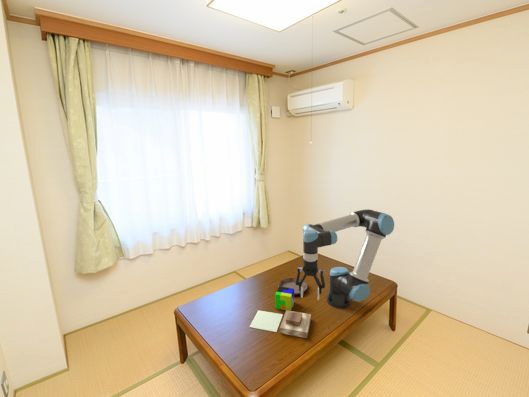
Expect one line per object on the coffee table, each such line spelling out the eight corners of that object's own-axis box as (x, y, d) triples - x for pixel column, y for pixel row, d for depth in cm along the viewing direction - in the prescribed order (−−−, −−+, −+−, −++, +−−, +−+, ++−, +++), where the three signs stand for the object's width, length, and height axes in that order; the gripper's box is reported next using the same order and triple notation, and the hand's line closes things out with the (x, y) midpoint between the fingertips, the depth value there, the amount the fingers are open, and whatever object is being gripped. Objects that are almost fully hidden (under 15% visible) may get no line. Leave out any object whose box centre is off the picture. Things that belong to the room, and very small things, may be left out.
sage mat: (283, 314, 163) (282, 314, 163) (276, 332, 148) (276, 331, 148) (258, 310, 167) (258, 310, 167) (249, 327, 152) (249, 326, 152)
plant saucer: (303, 299, 178) (303, 295, 178) (274, 294, 186) (274, 289, 185) (310, 284, 197) (310, 280, 197) (283, 280, 205) (283, 276, 204)
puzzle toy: (294, 302, 175) (294, 288, 173) (290, 311, 166) (290, 296, 164) (279, 299, 179) (279, 286, 177) (275, 308, 169) (275, 294, 167)
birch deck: (310, 319, 158) (310, 314, 157) (307, 338, 143) (307, 332, 142) (286, 315, 162) (286, 310, 161) (279, 333, 147) (279, 327, 146)
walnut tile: (302, 317, 155) (302, 313, 154) (299, 326, 147) (299, 322, 147) (288, 315, 157) (288, 311, 156) (285, 323, 149) (285, 319, 149)
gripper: (331, 258, 142) (330, 296, 147) (292, 254, 148) (292, 291, 153) (330, 264, 135) (329, 304, 140) (289, 260, 141) (289, 298, 146)
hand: (310, 297), depth 146 cm, fingers open, 8 cm apart
